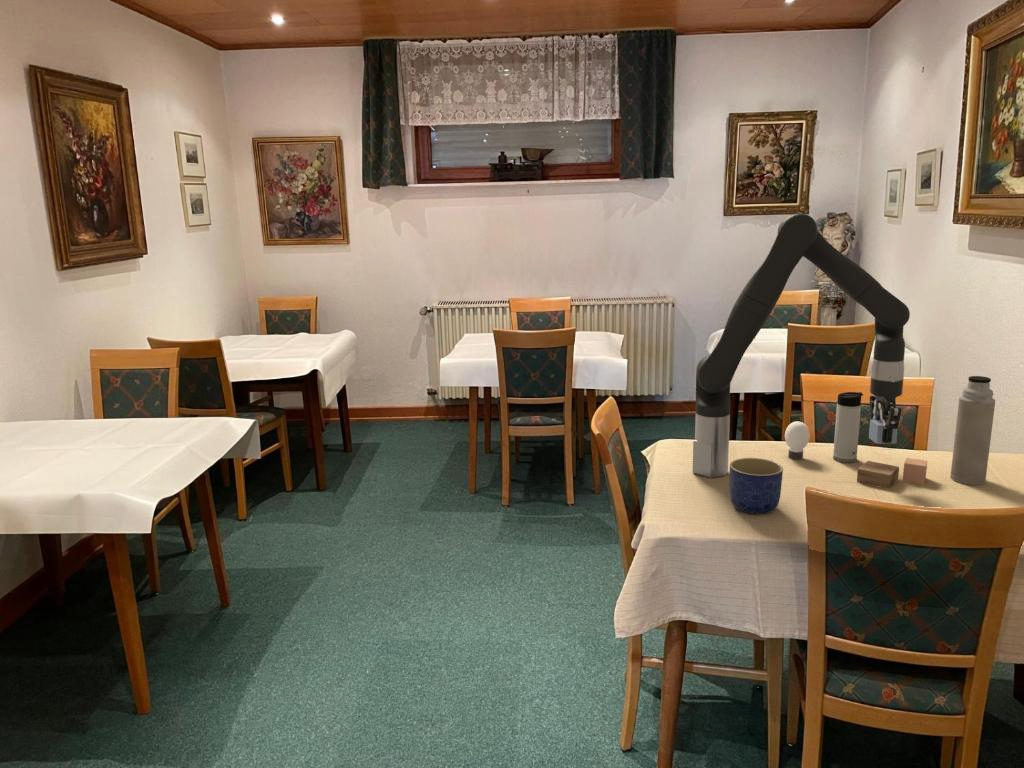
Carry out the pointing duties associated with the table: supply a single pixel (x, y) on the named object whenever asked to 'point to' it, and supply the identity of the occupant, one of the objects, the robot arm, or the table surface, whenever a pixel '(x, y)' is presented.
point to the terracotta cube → (915, 470)
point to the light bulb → (796, 439)
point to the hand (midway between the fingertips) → (882, 438)
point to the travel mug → (847, 427)
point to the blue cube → (879, 432)
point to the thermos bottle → (973, 432)
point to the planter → (755, 484)
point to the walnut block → (878, 474)
